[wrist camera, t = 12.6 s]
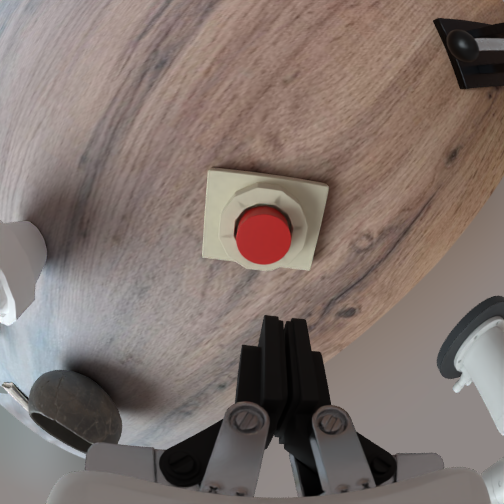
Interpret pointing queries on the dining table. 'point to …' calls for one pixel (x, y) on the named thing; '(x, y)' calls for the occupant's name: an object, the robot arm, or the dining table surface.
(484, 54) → the bracket
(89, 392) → the bowl
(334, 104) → the dining table surface
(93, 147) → the dining table surface
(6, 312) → the potted plant
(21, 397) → the newspaper
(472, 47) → the lever
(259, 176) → the button box
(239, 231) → the button
